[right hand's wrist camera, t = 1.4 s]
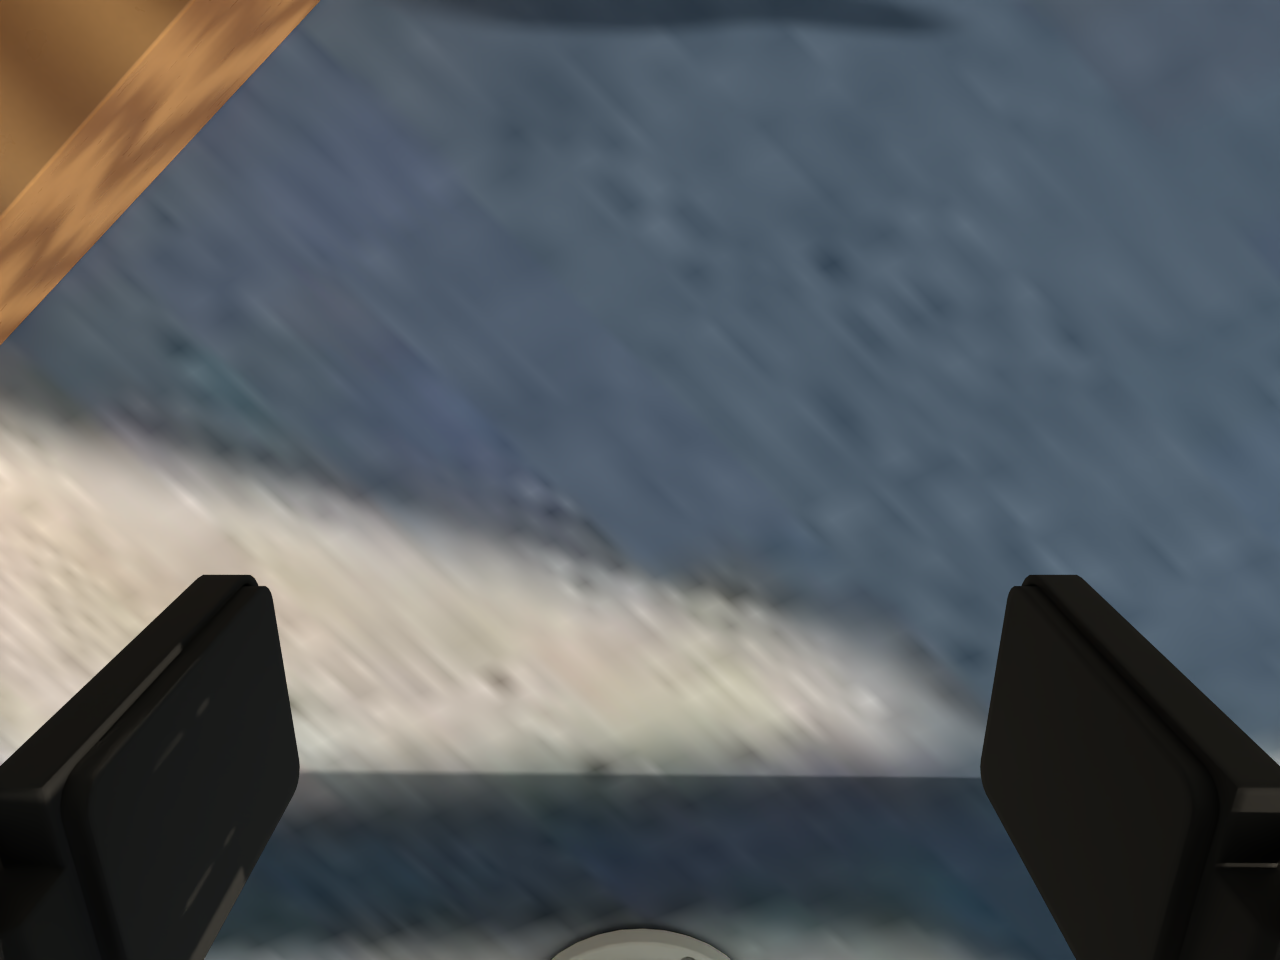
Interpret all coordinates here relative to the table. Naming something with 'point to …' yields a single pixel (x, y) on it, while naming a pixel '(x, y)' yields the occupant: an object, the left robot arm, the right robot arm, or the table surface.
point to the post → (106, 115)
